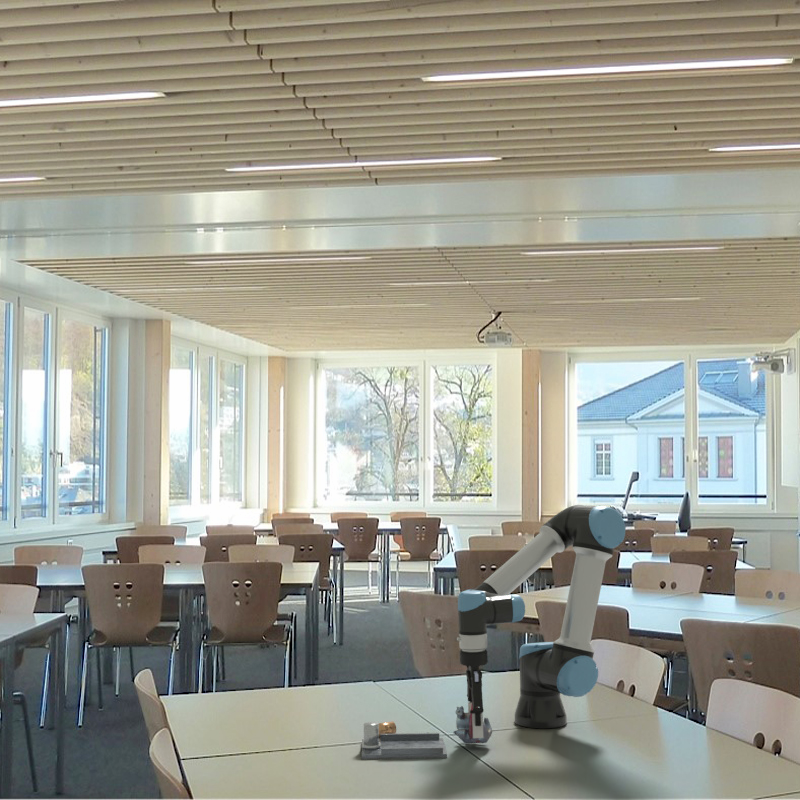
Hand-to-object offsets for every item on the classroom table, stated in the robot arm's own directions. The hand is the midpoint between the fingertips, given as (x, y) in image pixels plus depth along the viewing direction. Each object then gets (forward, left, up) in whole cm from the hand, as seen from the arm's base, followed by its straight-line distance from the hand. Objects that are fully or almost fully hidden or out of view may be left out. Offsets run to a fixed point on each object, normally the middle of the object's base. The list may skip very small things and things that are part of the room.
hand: (475, 732), depth 290 cm
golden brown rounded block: (+25, -14, -4) cm, 28 cm away
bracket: (+20, +2, -4) cm, 20 cm away
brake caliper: (+1, 0, -2) cm, 2 cm away
